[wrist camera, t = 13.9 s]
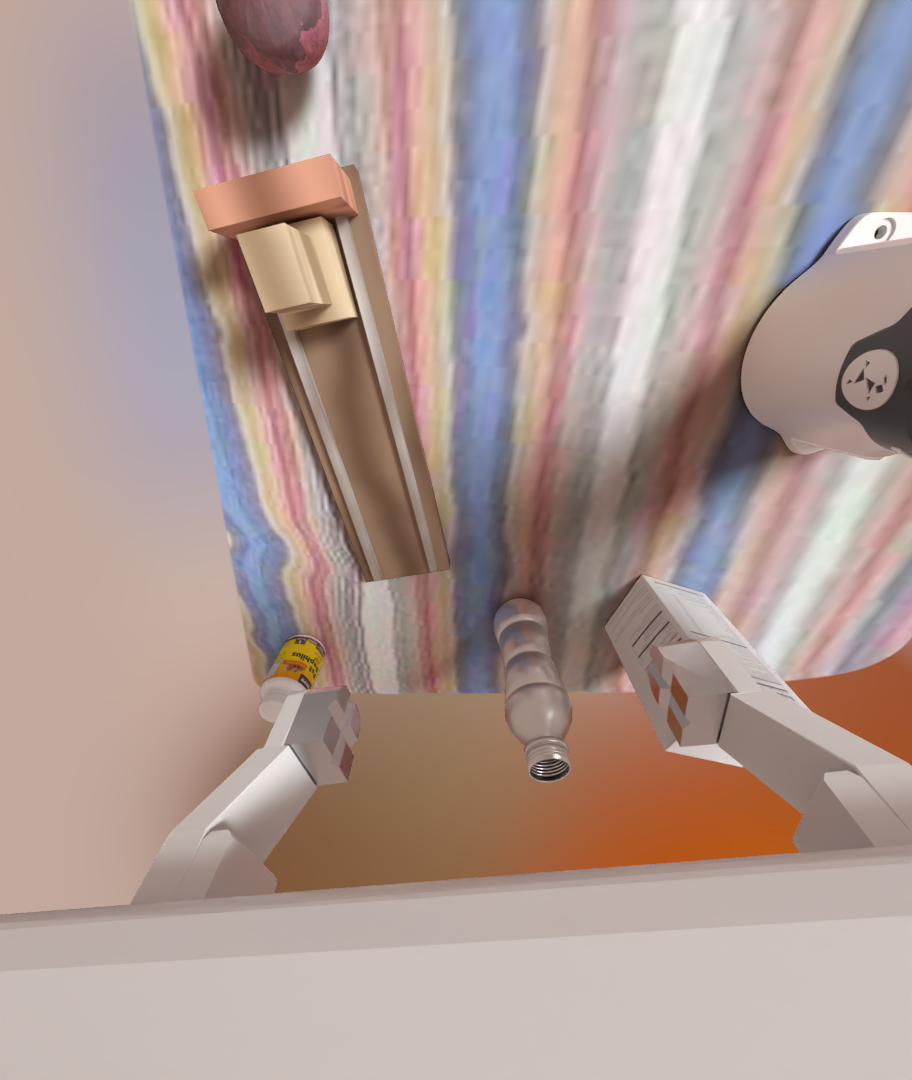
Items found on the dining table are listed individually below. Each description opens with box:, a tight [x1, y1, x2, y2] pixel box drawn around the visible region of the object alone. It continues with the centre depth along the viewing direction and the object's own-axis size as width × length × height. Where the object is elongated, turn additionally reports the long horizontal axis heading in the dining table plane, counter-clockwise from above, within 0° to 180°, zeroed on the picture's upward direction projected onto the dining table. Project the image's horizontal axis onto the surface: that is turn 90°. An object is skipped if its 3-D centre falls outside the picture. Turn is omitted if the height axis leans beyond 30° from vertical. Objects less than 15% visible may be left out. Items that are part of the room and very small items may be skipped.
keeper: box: [236, 216, 358, 331], centre depth 27 cm, size 5×6×8 cm
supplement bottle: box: [258, 634, 325, 723], centre depth 48 cm, size 6×6×10 cm
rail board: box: [193, 154, 450, 582], centre depth 35 cm, size 10×35×6 cm, turn 11°
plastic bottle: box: [494, 598, 573, 783], centre depth 41 cm, size 6×7×20 cm
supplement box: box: [604, 575, 810, 767], centre depth 42 cm, size 10×9×17 cm
